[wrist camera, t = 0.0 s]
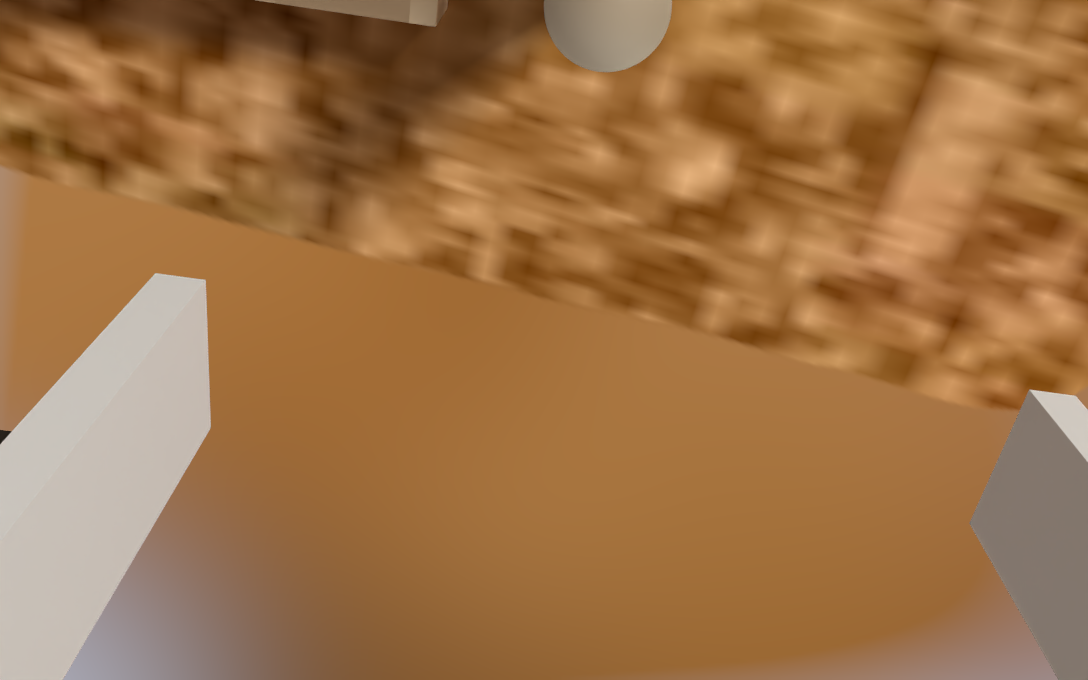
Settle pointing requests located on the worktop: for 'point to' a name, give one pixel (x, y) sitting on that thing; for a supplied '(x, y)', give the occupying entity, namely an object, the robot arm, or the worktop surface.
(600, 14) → the stool leg
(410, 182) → the worktop surface
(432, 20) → the stool
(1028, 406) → the robot arm
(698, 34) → the worktop surface
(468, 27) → the worktop surface
